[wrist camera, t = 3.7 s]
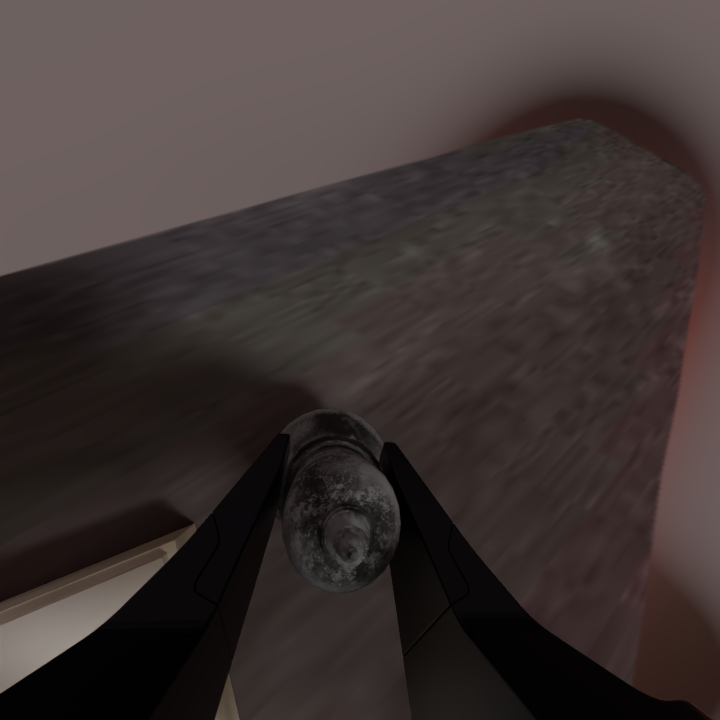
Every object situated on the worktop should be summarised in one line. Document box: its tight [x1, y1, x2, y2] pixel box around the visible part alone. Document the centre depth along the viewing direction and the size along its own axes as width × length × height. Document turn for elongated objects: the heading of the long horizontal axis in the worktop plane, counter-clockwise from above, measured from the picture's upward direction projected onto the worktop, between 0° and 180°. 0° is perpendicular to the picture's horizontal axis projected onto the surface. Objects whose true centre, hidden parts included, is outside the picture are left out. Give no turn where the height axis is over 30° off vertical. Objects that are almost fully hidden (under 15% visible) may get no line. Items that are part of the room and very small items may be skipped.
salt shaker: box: [276, 408, 401, 593], centre depth 10 cm, size 6×6×12 cm
